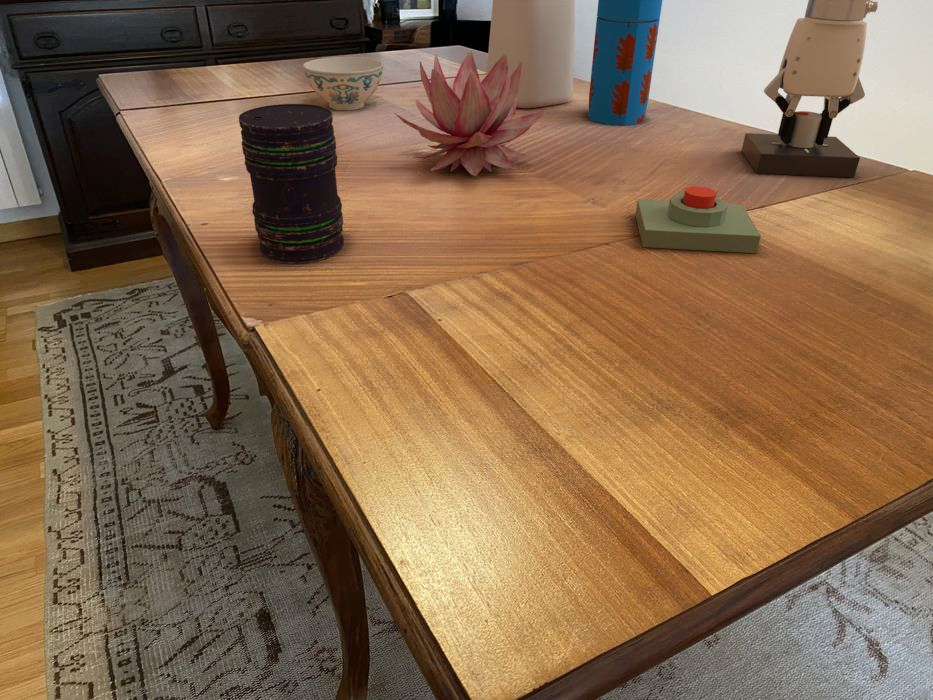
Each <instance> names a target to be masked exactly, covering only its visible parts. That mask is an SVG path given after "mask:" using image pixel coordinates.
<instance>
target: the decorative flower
mask: <svg viewBox="0 0 933 700" xmlns="http://www.w3.org/2000/svg"><path fill="white" fill-rule="evenodd" d="M433 63H434V64H433V68H432V69H431V74H430V79H429V77H428V76H427V73H426V71H425V69H424V66H423V64H422V62H421V61H420V60H419V71H420V80H421V83H422V85H423V88H424V91H425V94H426V96H427V98H428V101H429V103H430V105H431V110H430V109H428V108H427V107H426V106H425V105H423V104H422V103H421V102H420V101H419V100H418V99H417V98H413V99H414V102H415V105H416V107H417V109H418V111H419V113H420V114H421V115H422V116H423V118H424V119H425V120H426V121H427V122H429V123H430V124H431V125H432V126H433V127H435V128H436V129H438V130H439V131H440V132H437V131H433V130H430V129H427V128H424V127H422V126H420V125H417V124H415V123H414V122H411V121H408V120H407V119H405V118H403V117H402V116H400V115H399V114H398V113H396V112H394V115H395V116H397V117H398V119H399V120H401V122H402V123H403V124H405V125H407V126H408V127H410V128H413V129H414V130H416V131H418V133H419V135H420V137H422V138H424V139H426V140H427V141H430V142H432V143H437V144H436V145H430V144H427V147H430V148H432V149H433V150H435V149H438V150H437V151H435V152H430V153H427V154H424V155H419V156H412V159H420V160H423V159H424V160H426V159H430V158H433V157H435V156H440V155H442V154H443V155H442V156H441V158H440V159H439V160H438V162H437V163H436V164H435V165H434V166H433V167H432V168H431V169H430V170H429V171H431V172H432V171H436V170H442V169H443V170H444V168H447V167H448V166H449V165H451V166H450V171H449V173H451V172H453V171H454V170H456V169H457V168H458V167H459V166H460V165H462V166H463V167H464V168H465V170H466V171H467V172H468V173H469V174H470V175H471V176H474V177H475V176H478V175H479V173H480V172H481V170H483V168H485V169H486V170H488V171H490V172H491V173H492V172H493V170H492V169H493V168H492V165H494V166H496V167H498V168H502V169H509V170H516V169H517V167H516V165H515V164H514V163H513V162H512V161H511V159H510V158H512V159H515V158H522V157H524V158H525V157H528V155H526V154H525V153H522V152H520V151H517V150H515V149H512V148H510V147H507V146H506V144H507V143H510V142H512V141H514V140H515V139H517V138H519V137H521V136H523V135H524V134H526V133H527V132H528V131H529V130H530V128H531V127H532V126H534V125H535V124H536V123H537V122H538V121H539V120H540V119H541V118H542V117H543V116H544V115H545V113H546V112H547V109H542V110H539V111H536V112H533V113H530V114H527V115H523V116H519V117H515V118H514V116H515V115H516V109H517V107H516V105H517V101H518V98H517V97H516V95H517V92H518V88H519V83H520V79H521V71H522V61H521V62H520V64H519V65H518V67H517V68H516V69H515V71H514V72H513V74H512V75H511V76H510V69H508V63H507V56H506V55H503V56H502V57H501V58H500V59H499V60H498V61H497V62H496V64H495V65H494V66H493V67H492V69H491V70H490V71H489V73H488V74H487V73H486V74H487V75H486V74H485V76H484V78H483V79H482V80H481V79H480V75H479V71H478V68H477V64H476V62H475V57H474V55H473V51H472V52H471V51H469V52H467V54H466V56H465V57H464V59H463V61H462V63H461V64H460V66H459V69H458V71H457V73H456V75H455V78H454V80H453V82H452V83H453V84H452V88H451V87H450V84H448V81H447V79H446V77H445V74H444V72H443V69H442V65H441V63H440V59H439V58H438V54H435V55H434V62H433ZM441 132H443V133H441Z"/></svg>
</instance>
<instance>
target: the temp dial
mask: <svg viewBox="0 0 933 700" xmlns="http://www.w3.org/2000/svg"><path fill="white" fill-rule="evenodd" d="M794 116H795V117H796V122H795V126H794V130H793V134H792V138H791V142H790V143H789V144H788V145H790V146H793V147H797V148H812V147H814V145H815V142H816V138H817V134H818V131H819V127H820V123H821V120H822V115H821V114H820V113H819V112H814V111H809V110H808V111H807V110H799V111H795V114H794Z"/></svg>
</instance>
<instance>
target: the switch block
mask: <svg viewBox="0 0 933 700" xmlns="http://www.w3.org/2000/svg"><path fill="white" fill-rule="evenodd" d="M684 193H685V192H682V193H677V194H674V195H673V196H672V197H670V198H669V200H662V199H661V200H659V199H638V198H637V200H636V208H635V219H636V224H637V228H638V233H639V237H640V242H641V247H642V248H654V249H668V250H669V249H670V250H671V249H673V250H689V251H708V252H725V253H726V252H727V253H744V254H757V252H758V249H759V246H760V242H761V238H762V237H761V233H760V232H759V231H758V228H757V227H756V225H755V224H754V221H753V220H752V218H751V216H750V215H749V213H748V212H747V210H746V208H745V206H744V205H743V204H741V203H727V202H726V201H725V200H723V199H721V198H719V197H717V196H716V198H715V203H714V207H713V208H709V209H697V208H692V207H688V206H686V205H684V204H683V199H684Z"/></svg>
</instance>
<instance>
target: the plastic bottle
mask: <svg viewBox="0 0 933 700" xmlns="http://www.w3.org/2000/svg"><path fill="white" fill-rule="evenodd" d="M491 6H492V7H491V19H490V27H489V28H490V29H489V40H488V53H487V63H486V74H485V76H486V75H487V74H488V73H489V71H490V70H491V69H492V67H493V66H494V65H495V64H496V62H497V61H498V60H499V59H500V58H501V57H502V56H503V55H506V56H507V63H508V69H510V76H511V75H512V74H513V72H514V71H515V69H516V68H517V67H518V65H519V64H520V62H521V61H522V71H521V79H520V83H519V88H518V92H517V95H516V97H517V98H518V101H517V105H516V109H517V108H518V109H537V108H543V107H548V106H554V105H560V104H561V105H562V104H565V103H568V102H569V101H571V99H572V98H573V95H574V71H575V70H574V69H575V68H574V67H575V66H574V65H575V23H576V22H575V21H576V20H575V19H576V17H575V16H576V0H492V5H491Z"/></svg>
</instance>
